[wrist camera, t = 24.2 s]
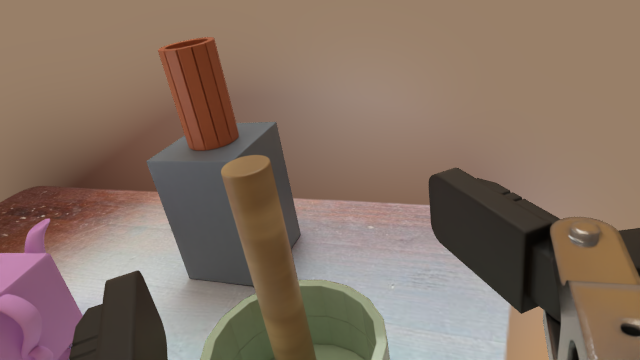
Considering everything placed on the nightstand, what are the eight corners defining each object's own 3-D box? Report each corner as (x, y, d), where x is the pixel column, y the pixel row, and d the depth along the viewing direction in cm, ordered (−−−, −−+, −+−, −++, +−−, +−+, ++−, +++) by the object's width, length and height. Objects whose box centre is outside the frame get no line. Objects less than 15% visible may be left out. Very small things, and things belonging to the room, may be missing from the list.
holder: (300, 234, 45) (256, 27, 36) (266, 287, 38) (200, 51, 30) (232, 229, 48) (175, 37, 39) (189, 278, 41) (109, 61, 32)
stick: (325, 386, 28) (270, 150, 21) (328, 419, 26) (269, 170, 19) (289, 392, 28) (223, 159, 21) (290, 425, 26) (217, 180, 19)
